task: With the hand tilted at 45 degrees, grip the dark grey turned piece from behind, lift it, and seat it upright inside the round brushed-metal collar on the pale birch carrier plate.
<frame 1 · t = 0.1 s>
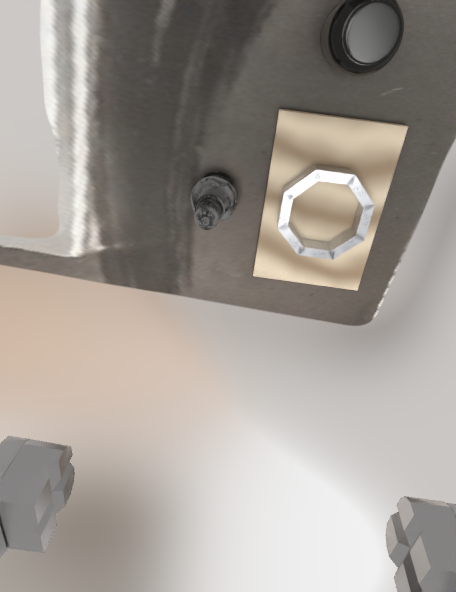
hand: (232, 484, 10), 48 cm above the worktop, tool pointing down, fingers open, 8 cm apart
carrier plate: (321, 205, 55), on the worktop
supplement bottle: (350, 37, 46), on the worktop
metal collar: (323, 213, 52), on the carrier plate, point 3 cm above the worktop
dark grey turned piece: (216, 191, 55), on the worktop
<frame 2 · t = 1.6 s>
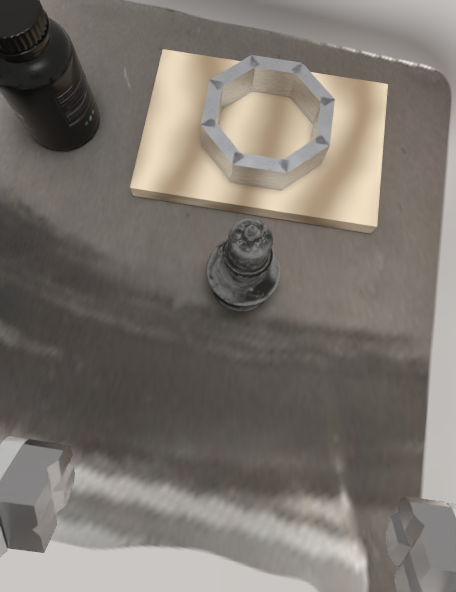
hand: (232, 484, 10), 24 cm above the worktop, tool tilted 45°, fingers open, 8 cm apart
carrier plate: (262, 143, 40), on the worktop
supplement bottle: (66, 123, 40), on the worktop
metal collar: (266, 123, 37), on the carrier plate, point 2 cm above the worktop
dark grey turned piece: (241, 282, 37), on the worktop
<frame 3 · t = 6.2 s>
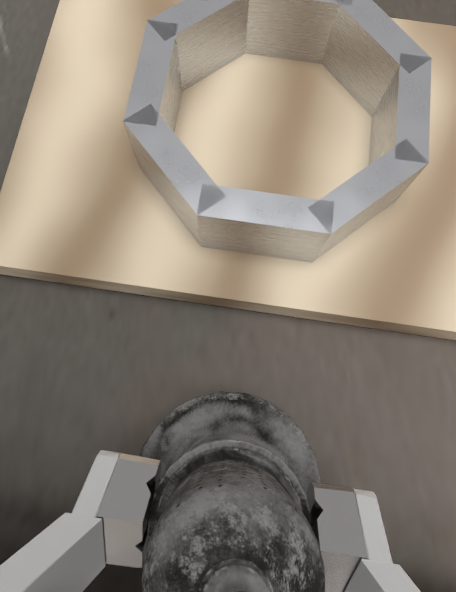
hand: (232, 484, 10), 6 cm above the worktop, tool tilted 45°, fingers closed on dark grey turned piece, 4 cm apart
carrier plate: (268, 157, 20), on the worktop
metal collar: (276, 115, 17), on the carrier plate, point 3 cm above the worktop
dark grey turned piece: (225, 469, 16), on the worktop, touching gripper
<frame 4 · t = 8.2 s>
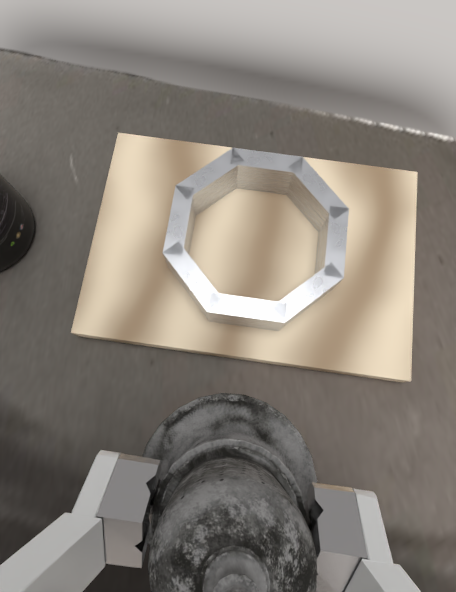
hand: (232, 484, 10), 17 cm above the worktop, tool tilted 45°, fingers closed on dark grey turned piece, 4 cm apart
carrier plate: (252, 255, 30), on the worktop
metal collar: (255, 239, 27), on the carrier plate, point 2 cm above the worktop
dark grey turned piece: (225, 468, 17), point 10 cm above the worktop, touching gripper
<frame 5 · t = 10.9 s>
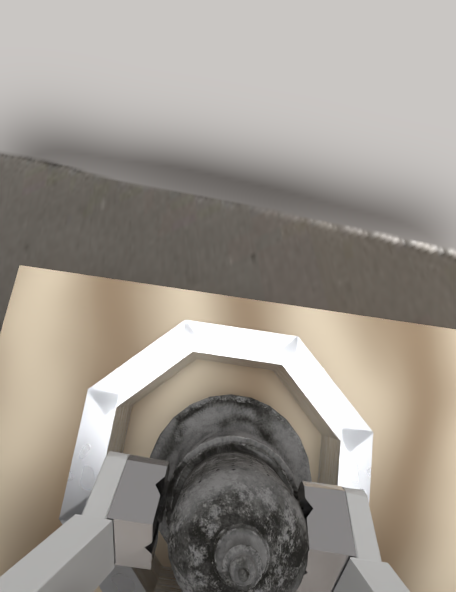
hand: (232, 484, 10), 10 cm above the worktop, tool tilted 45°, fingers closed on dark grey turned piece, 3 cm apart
carrier plate: (220, 457, 20), on the worktop
metal collar: (220, 467, 17), on the carrier plate, point 3 cm above the worktop
dark grey turned piece: (226, 463, 18), point 1 cm above the worktop, touching carrier plate, gripper
when the fingers open (10 cm above the worktop, at t = 11.6 s): dark grey turned piece stays where it is, resting on carrier plate.
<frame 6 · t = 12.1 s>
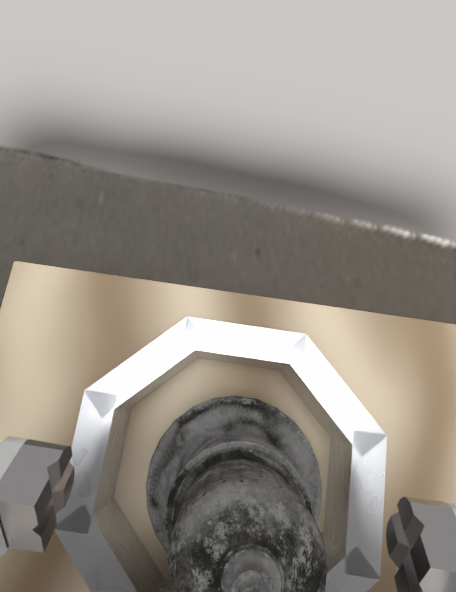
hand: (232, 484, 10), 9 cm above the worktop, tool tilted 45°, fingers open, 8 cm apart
carrier plate: (224, 462, 19), on the worktop
metal collar: (225, 473, 16), on the carrier plate, point 2 cm above the worktop
dark grey turned piece: (231, 468, 17), point 1 cm above the worktop, touching carrier plate
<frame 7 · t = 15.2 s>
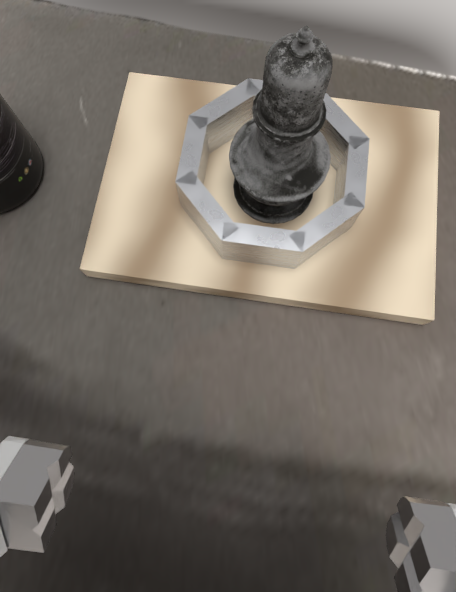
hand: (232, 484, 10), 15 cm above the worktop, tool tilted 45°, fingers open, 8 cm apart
carrier plate: (267, 196, 29), on the worktop
supplement bottle: (0, 175, 30), on the worktop
metal collar: (271, 173, 26), on the carrier plate, point 2 cm above the worktop
dark grey turned piece: (273, 188, 28), point 1 cm above the worktop, touching carrier plate
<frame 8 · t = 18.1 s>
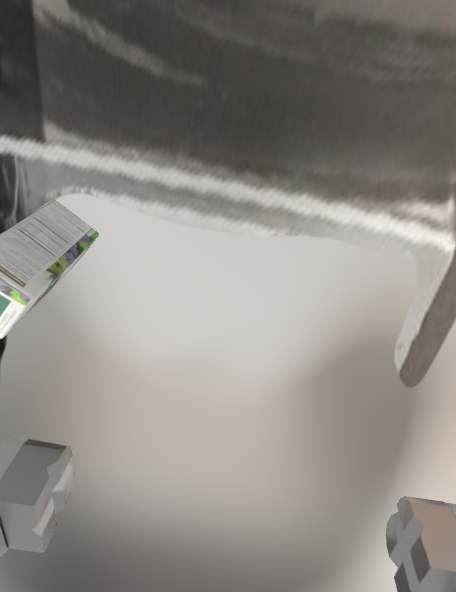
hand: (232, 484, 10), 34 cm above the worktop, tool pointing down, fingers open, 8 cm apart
syrup box: (65, 232, 45), on the worktop
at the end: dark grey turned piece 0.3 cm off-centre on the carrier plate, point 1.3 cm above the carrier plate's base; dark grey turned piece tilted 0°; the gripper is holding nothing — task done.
